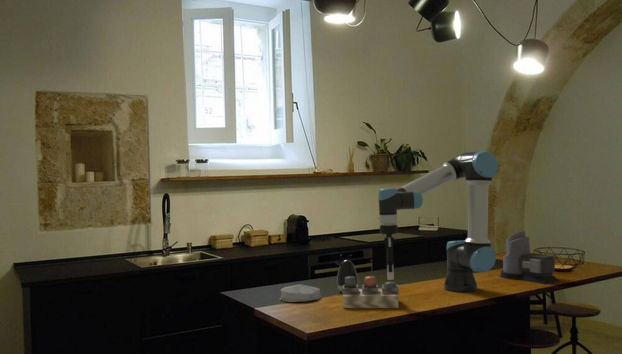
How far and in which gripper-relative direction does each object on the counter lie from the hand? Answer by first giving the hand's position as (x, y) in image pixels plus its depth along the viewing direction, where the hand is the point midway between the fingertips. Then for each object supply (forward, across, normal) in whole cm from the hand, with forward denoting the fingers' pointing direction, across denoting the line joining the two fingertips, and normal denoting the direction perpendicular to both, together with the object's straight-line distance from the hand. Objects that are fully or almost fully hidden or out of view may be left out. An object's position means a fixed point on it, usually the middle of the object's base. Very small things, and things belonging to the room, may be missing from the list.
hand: (390, 279), depth 234 cm
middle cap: (+3, 0, -9) cm, 9 cm away
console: (+10, 0, -9) cm, 14 cm away
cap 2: (+6, 0, 0) cm, 6 cm away
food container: (+11, -12, -41) cm, 44 cm away
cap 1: (+3, 0, -17) cm, 18 cm away
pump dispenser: (+11, -25, -20) cm, 34 cm away
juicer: (+12, -55, +71) cm, 91 cm away
